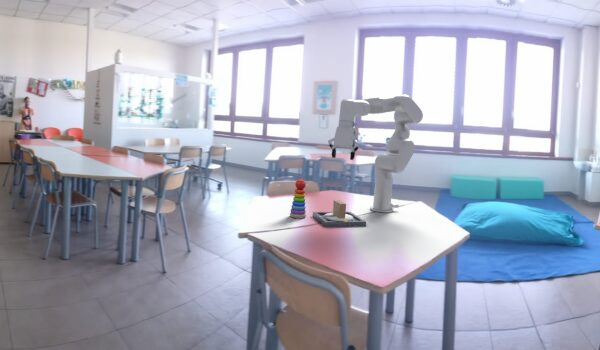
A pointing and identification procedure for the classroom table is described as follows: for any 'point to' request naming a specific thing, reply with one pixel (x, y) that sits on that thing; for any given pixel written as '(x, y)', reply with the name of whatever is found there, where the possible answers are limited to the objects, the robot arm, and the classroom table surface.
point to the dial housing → (328, 223)
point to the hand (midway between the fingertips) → (342, 158)
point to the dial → (338, 212)
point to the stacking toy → (299, 200)
